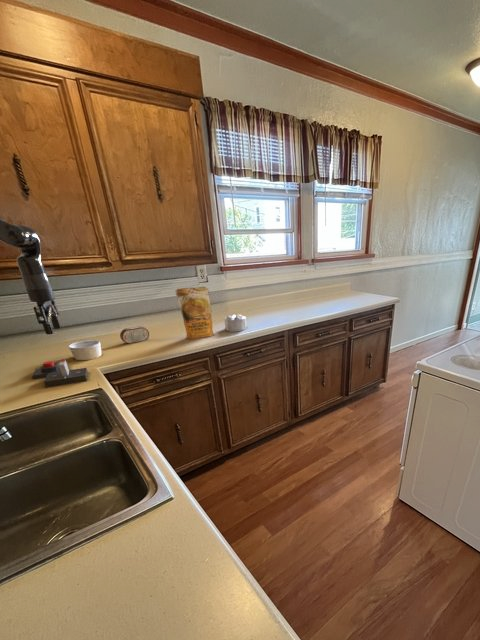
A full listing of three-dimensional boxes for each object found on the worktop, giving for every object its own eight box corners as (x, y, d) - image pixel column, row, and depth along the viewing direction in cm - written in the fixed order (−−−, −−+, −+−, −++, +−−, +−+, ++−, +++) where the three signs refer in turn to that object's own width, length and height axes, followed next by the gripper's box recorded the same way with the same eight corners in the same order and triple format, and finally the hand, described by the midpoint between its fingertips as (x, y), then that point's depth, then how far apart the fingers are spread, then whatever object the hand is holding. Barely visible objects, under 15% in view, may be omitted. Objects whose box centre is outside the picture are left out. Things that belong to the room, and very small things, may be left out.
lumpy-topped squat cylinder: (224, 328, 211) (222, 315, 207) (243, 326, 217) (242, 312, 213) (229, 332, 203) (228, 318, 199) (249, 329, 209) (248, 315, 205)
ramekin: (69, 357, 161) (64, 344, 158) (97, 351, 170) (93, 338, 167) (78, 364, 153) (74, 349, 150) (108, 356, 162) (104, 343, 159)
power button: (43, 368, 138) (42, 364, 137) (45, 365, 141) (43, 362, 140) (53, 367, 140) (52, 363, 139) (55, 364, 143) (53, 360, 142)
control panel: (46, 388, 129) (43, 381, 127) (50, 379, 136) (47, 372, 135) (87, 382, 134) (85, 374, 133) (88, 373, 142) (86, 367, 141)
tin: (149, 338, 190) (146, 324, 186) (151, 340, 188) (148, 325, 184) (122, 344, 181) (118, 329, 177) (124, 345, 179) (120, 330, 175)
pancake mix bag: (182, 337, 192) (173, 288, 179) (213, 333, 201) (207, 285, 188) (185, 340, 187) (176, 289, 174) (217, 335, 196) (211, 287, 183)
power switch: (33, 380, 136) (30, 371, 134) (37, 373, 143) (34, 364, 141) (67, 375, 141) (64, 366, 139) (69, 368, 148) (66, 360, 146)
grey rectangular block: (68, 376, 132) (63, 363, 130) (62, 376, 132) (58, 364, 129) (69, 371, 137) (65, 359, 134) (64, 372, 136) (60, 360, 133)
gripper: (34, 284, 123) (49, 327, 130) (17, 290, 110) (35, 337, 118) (57, 284, 125) (70, 326, 132) (43, 289, 112) (59, 335, 120)
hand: (53, 331), depth 125 cm, fingers open, 8 cm apart
